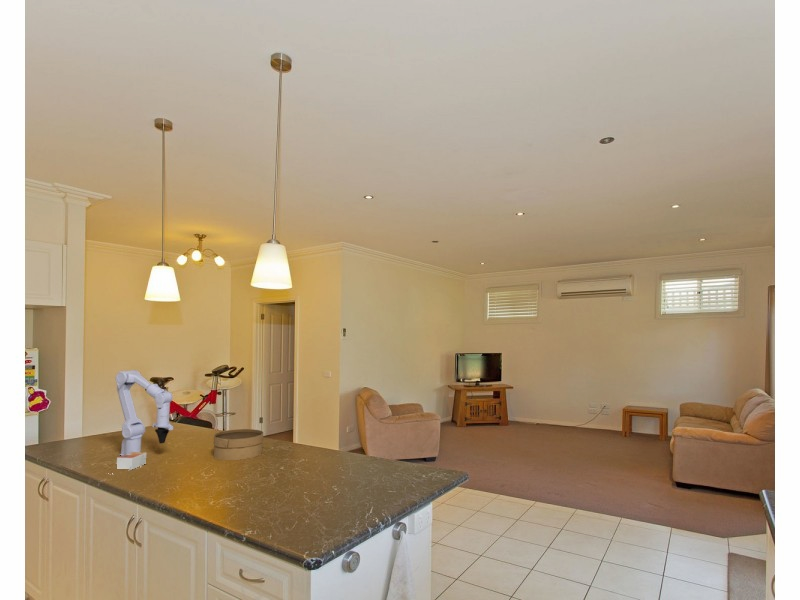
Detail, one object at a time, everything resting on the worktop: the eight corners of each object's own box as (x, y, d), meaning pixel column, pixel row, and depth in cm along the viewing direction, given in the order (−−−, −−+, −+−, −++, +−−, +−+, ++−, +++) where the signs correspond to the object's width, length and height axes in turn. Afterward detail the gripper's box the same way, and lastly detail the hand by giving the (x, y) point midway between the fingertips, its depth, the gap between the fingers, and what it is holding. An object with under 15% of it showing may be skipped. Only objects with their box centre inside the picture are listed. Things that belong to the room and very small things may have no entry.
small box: (147, 452, 229) (132, 457, 219) (146, 464, 229) (132, 470, 219) (131, 451, 230) (116, 457, 220) (130, 463, 230) (116, 469, 219)
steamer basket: (228, 463, 230) (228, 440, 231) (204, 455, 247) (204, 433, 248) (272, 454, 249) (272, 433, 250) (246, 447, 265) (247, 427, 266)
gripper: (179, 416, 242) (177, 443, 241) (162, 413, 249) (160, 439, 248) (166, 418, 236) (165, 445, 235) (149, 415, 243) (147, 442, 242)
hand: (162, 442), depth 241 cm, fingers closed
